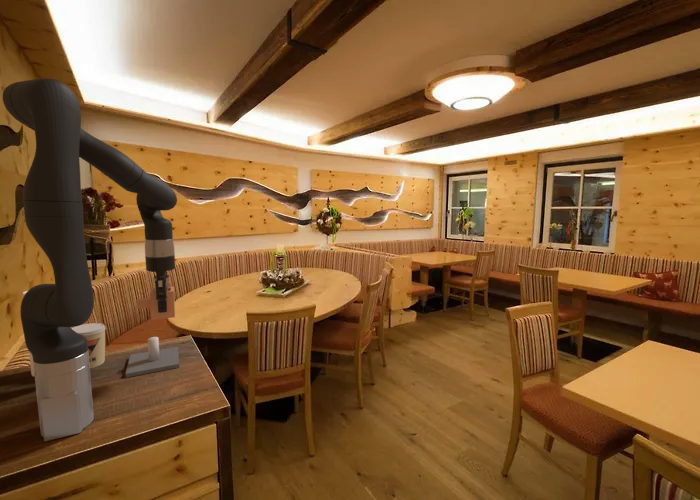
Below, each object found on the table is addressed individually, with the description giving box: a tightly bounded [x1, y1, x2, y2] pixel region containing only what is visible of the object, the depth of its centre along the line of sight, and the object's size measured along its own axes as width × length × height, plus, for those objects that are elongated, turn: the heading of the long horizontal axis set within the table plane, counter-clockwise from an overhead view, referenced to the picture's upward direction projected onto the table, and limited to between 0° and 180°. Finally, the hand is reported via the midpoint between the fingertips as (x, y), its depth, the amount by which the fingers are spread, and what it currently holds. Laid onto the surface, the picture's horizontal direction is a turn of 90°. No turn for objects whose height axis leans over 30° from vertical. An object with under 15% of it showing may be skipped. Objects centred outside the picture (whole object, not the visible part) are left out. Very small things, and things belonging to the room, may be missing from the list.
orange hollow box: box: [135, 286, 176, 321], centre depth 96 cm, size 6×10×8 cm, turn 118°
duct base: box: [124, 336, 180, 378], centre depth 104 cm, size 14×14×8 cm
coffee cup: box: [70, 322, 106, 369], centre depth 101 cm, size 9×9×12 cm
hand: (163, 308), depth 97 cm, fingers closed on orange hollow box, 6 cm apart
